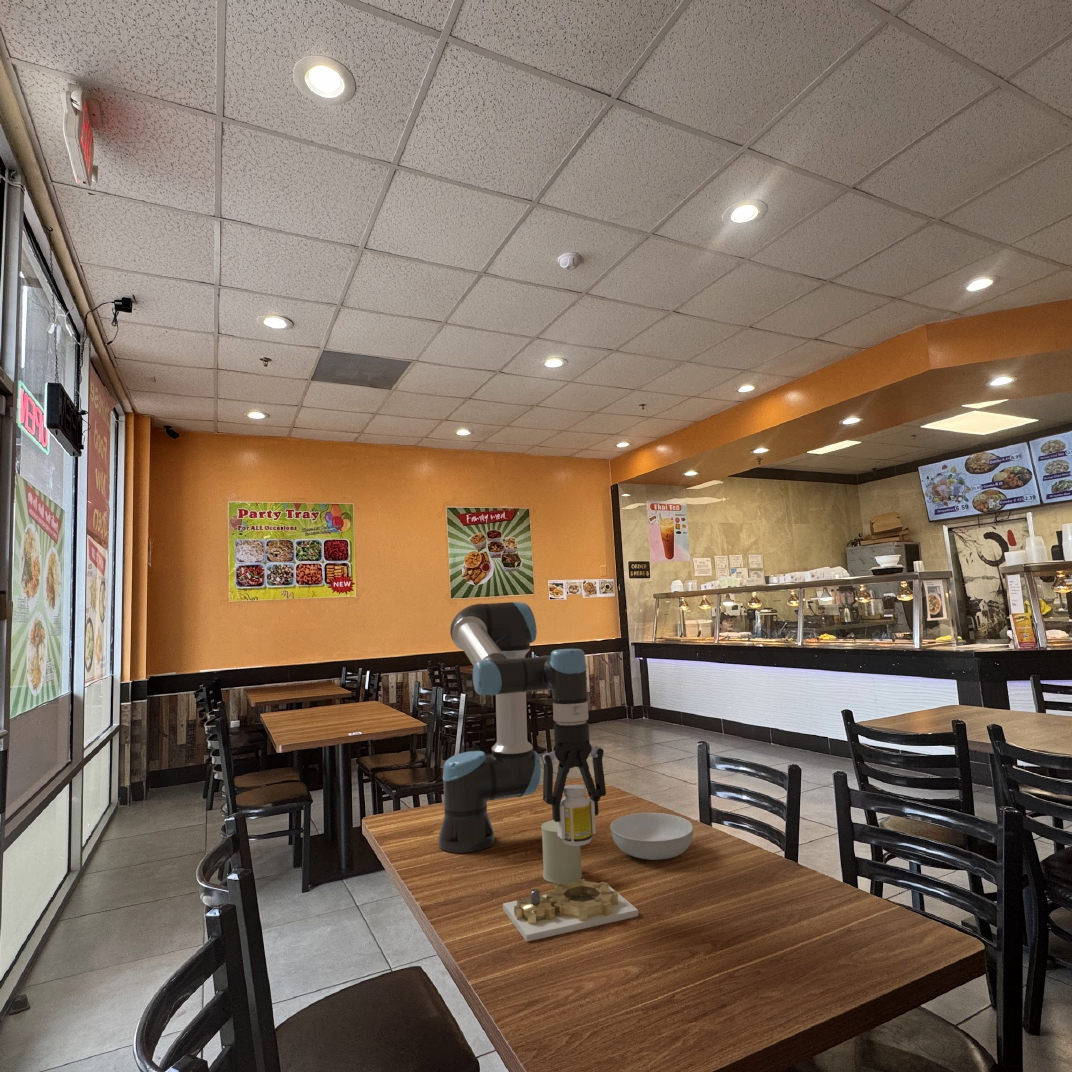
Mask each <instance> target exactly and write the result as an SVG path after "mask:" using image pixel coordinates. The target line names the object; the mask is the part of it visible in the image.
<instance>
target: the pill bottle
mask: <svg viewBox="0 0 1072 1072" xmlns="http://www.w3.org/2000/svg"><path fill="white" fill-rule="evenodd" d="M586 791H587V789H586V786H585V785H583V784H569V785H568V784H567V785H565V787H564V791H563V795H564V797H562V799H561V804H562V805H563V806H564V815H565V836H566V839H563V842H564V843H565V844H567V845H572V846H580V847H581V846H584V845H587V844H589V843H591V842H592V838H593V837H592V836H593V834H592V833H591V817H590V802H589V799H590V798H589V799H588V797H587V796H585V795H586V793H587V792H586Z"/></svg>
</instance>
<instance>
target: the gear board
mask: <svg viewBox="0 0 1072 1072" xmlns="http://www.w3.org/2000/svg"><path fill="white" fill-rule="evenodd" d="M608 888H609V889H610V890H611V891H616V890H615V889H614V888H612V887H611V886H610V885H609V884H608ZM617 894H618V905H613V906H612V913H611V914H610V915H608V916H605V915H598V916H594V917H589V918H588V920H583V921H579V918H575V917H569V916H562V917H558V916H556V915H555V918H554V919H553V920H551V921H549V920H546V919H545V920H541V921H537V923H536V924H528V920H525V919H518V920H517V919H516V918H515V917H514V906H516V905H517V900H513V901H508V902H503V903H502V910H503V912H504V913H505V914H506V915H507V917H508V918H509V920H510V921H511V922H512V924H513V925H514V927H515V928H516V930H517V931H518V932H519V933H520V935H521V936H522V937H523V939H524V940H525V942H531V941H532V942H533V941H536V940H540V939H545V938H549V937H554V936H557V935H563V934H567V933H571V932H577V931H579V930H583V929H584V930H585V929H588V928H592V927H597V926H602V925H607V924H610V923H611V924H612V923H615V922H619V921H623V920H628V919H632V918H636V917H639V910H638V908H636V907H635V906H634V905H633V904H632V903H630V902H629V901H628V900H627V899H626V898H624V896H622V895H621V894H620V893H619V892H617ZM543 897H545V898H546V894H543ZM593 898H594V897H593ZM569 899H570V898H569ZM595 899H596V898H595Z"/></svg>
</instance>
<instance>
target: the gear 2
mask: <svg viewBox="0 0 1072 1072" xmlns="http://www.w3.org/2000/svg"><path fill="white" fill-rule="evenodd" d="M608 885H609V883H608V882H605V881H600V882H593V881H587V880H586V879H585V878H581V879H577V881H576V882H571V883H566V884H562V883H558V884H554V886H553V887H554V889H553V890H552V891H551V892H546V893H545V895H546V898H548V899H550V898H553V899H554V898H555V899H556V900H557V901H556V900H555V901H556V903H555V904H554V907H555V915H556V916H558V917H562V916H569V917H575V918H579V921H583V920H588V918H589V917H594V916H598V915H605V916H608V915H610V914H611V913H612V906H613V905H618V894H619V893H618V891H617V890H615V891H611V890H610V889H609V888H608ZM617 893H618V894H617ZM593 897H594V898H593ZM569 898H570V899H569ZM595 898H596V899H595Z"/></svg>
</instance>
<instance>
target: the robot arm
mask: <svg viewBox="0 0 1072 1072" xmlns="http://www.w3.org/2000/svg"><path fill="white" fill-rule="evenodd" d="M449 629H450V630H449V632H450V638H451V639H452V640H451V641H452V642H453V644H455V646H456V648H458V649H459V650H462V651H463V652H464V653H465V656H467V658H468V660H469V661H470V663H471V664H472V666H473V668H472V682H473V684H472V685H473V686H474V691H475V693H477V694H478V695H480V696H487V695H488V696H495V717H496V719H495V720H496V721H495V722H496V742H495V744H494V745H493V746H491V755H486V753H485V752H484V751H481V750H475V751H473V750H471V751H465V752H460V753H458V754H455V755H453V756H451V757H449V758H448V759H446V760H445V762H444V764H443V772H442V773H443V775H442V781H443V804H444V806H443V807H444V816H443V820H442V824H441V827H440V831H439V834H438V847H439V848H440V850H442V851H445V852H448V853H456V854H462V853H466V854H467V853H474V852H479V851H482V850H485V849H488V848H489V847H491V846H492V845H494V843H495V830H494V829H493V828H494V827H493V825H492V822H491V818H490V816H489V813H488V802H489V801H495V800H496V801H497V800H504V799H509V798H510V799H511V798H522V797H524V796H529V795H533V794H534V793H535V792H536V791H537V789H538V788H539V785H540V780H541V774H542V769H541V768H542V766H541V763H540V762H541V759H542V763H543V779H542V780H543V782H542V801H543V802H545V803H546V804H547V805H551V809H552V810H551V812H552V820H554V821H555V822H557V835H558V836H559V837H560V838H561V839H566V836H565V815H564V806H563V805H562V804H561V800H562V799H563V795H564V792H563V791H564V787H565V786H566V782H567V777H568V774H569V773H570V769H573V768H578V769H579V771H580V775H581V777H582V781H583V783H584V786H585V789H586V791H587V792H586V793H587V794H588V797H589V798H588V797H587V798H588V799H589V802H590V817H591V834H592V835H595V834H597V832H596V831H597V830H596V816H598V815H599V814H600V813H599V812H600V811H599V802H600V800H601V797H605V796H606V795H607V788H606V782H605V780H606V779H605V773H604V765H603V758H604V752H605V751H604V749H603V748H600V747H599V746H592V744H591V742H590V723H588V721H589V707H588V705H589V703H588V684H587V663H586V656H585V654H586V653H585V652H584V650H583V649H581V648H562V649H561V648H560V649H554V650H552V651H551V652H550V654H548V655H547V654H546V655H541V656H535V657H534V656H533V657H526V655H527V654H528V652H530V650H531V644H532V643H534V642H535V641H536V639H537V634H538V632H537V631H538V630H537V629H538V628H537V623H536V618H535V615H534V612H533V610H532V609H531V607H530V606H529V605H528V604H527V603H525V602H521V601H519V602H516V601H515V602H513V601H509V602H508V601H507V602H492V603H475V604H471V605H469V606H466V607H465V608H463V609H461V610H460V611H459V612H458V613H457V614H456V615H455V616H454V618H453V620H452V621H451V624H450V628H449ZM548 690H549V691H551V693H552V712H553V714H552V717H553V721H554V722H555V723H554V725H553V734H554V735H553V737H554V739H553V740H554V745H553V749H552V750H551V751H550V752H548V753H545V752H544V753H542V754H541V757H540V755H539V753H538V752H537V751H535V750H534V747H533V744H531V743H530V742H529V741H528V725H527V724H528V722H527V720H528V719H527V693H528V692H538V691H539V692H541V691H548ZM589 756H591V757H592V767H593V774H594V780H593V778H592V774H591V772H590V771H591V770H590V767H589V763H588V758H589ZM555 758H556V759H557V760H558V766H557V773H556V778H555V781H554V765H553V764H554V762H555Z"/></svg>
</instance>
